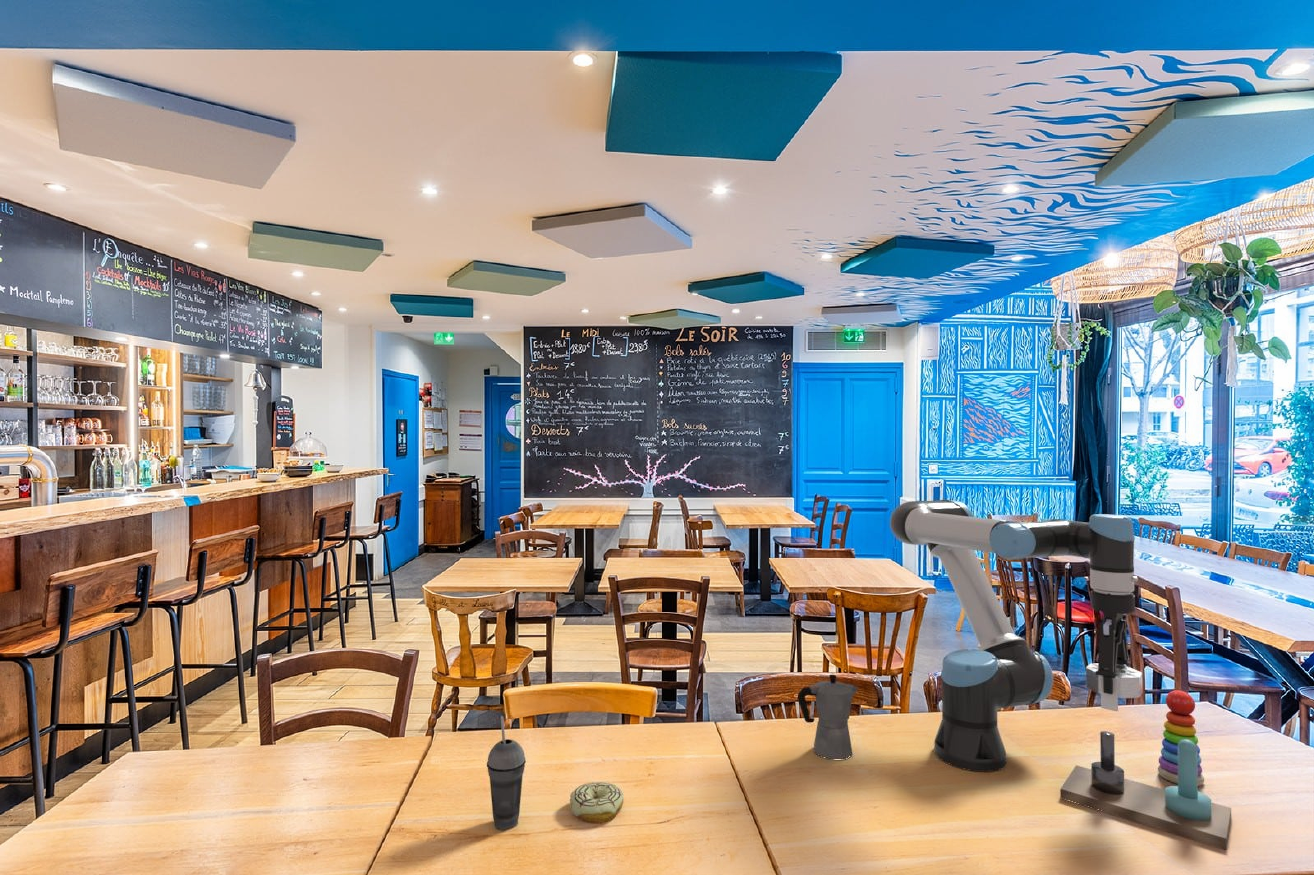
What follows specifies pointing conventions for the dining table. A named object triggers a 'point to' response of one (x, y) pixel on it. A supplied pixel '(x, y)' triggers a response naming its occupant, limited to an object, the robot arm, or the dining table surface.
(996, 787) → the dining table surface
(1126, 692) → the steel ring
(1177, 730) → the stacking toy
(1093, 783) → the stand rod
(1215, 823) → the walnut board
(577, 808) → the decorated donut
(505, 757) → the beverage cup
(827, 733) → the coffeepot
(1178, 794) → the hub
